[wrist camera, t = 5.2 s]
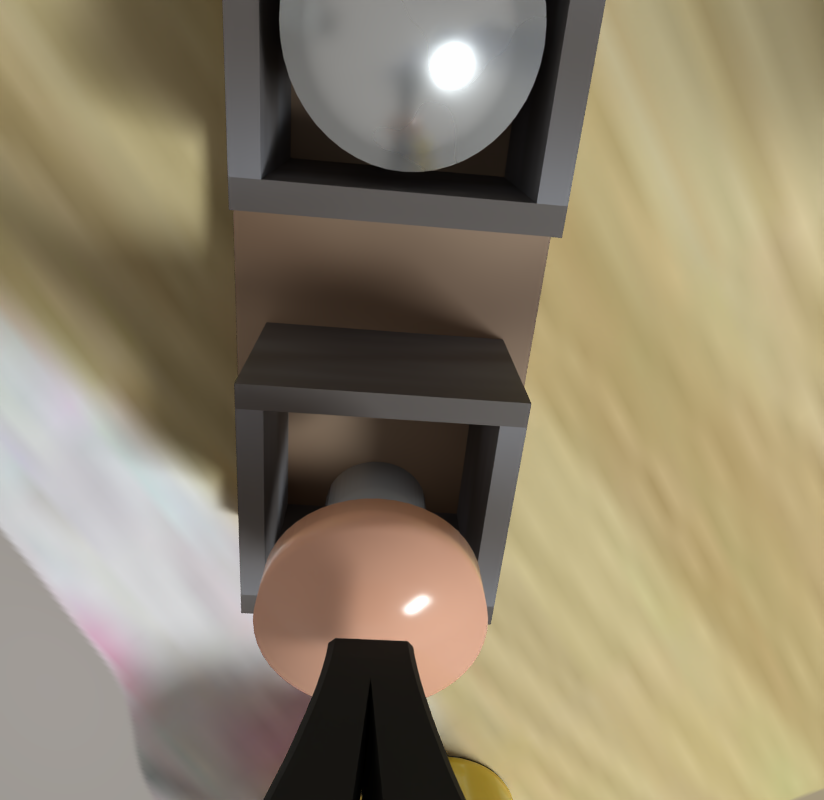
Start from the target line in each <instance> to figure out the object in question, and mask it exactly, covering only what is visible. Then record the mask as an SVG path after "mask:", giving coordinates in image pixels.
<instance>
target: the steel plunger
mask: <svg viewBox="0 0 824 800" xmlns="http://www.w3.org/2000/svg"><path fill="white" fill-rule="evenodd" d="M279 25H280V40H281V46H282V51H283V57H284V61H285V64H286V68H287V71H288V75H289V78H290V80H291V82H292V85H293V87H294V89H295V92H296V94H297V96H298V98H299V99H300V101H301V103H302V105H303V106H304V108H305V110H306V111H307V113H308V114H309V115H310V117H311V118H312V120H313V121H314V122H315V124H316V125H317V126H318V127H319V128H320V129H321V130H322V131H323V132H324V133H325V134H326V135H327V137H328V138H330V139H331V140H332V141H333V142H334V143H336V144H337V145H338V146H339V147H341V148H342V149H343V150H345V151H346V152H348V153H350V154H351V155H353V156H354V157H356V158H358V159H360V160H363V161H365V162H367V163H369V164H371V165H375V166H378V167H381V168H385V169H389V170H395V171H402V172H423V171H431V170H437V169H441V168H445V167H449V166H452V165H454V164H457V163H459V162H461V161H464V160H466V159H468V158H470V157H471V156H473V155H475V154H476V153H478V152H480V151H481V150H483V149H484V148H485V147H487V146H488V145H489V144H490V143H492V142H493V141H494V140H495V139H496V138H497V137H498V136H499V135H500V134H501V133H502V132H503V131H504V130H505V129H506V128H507V127H508V126H509V124H510V123H511V122H512V121H513V119H514V118H515V117H516V116H517V114H518V113H519V111H520V109H521V108H522V106H523V105H524V103H525V101H526V100H527V98H528V95H529V93H530V91H531V89H532V87H533V85H534V83H535V80H536V77H537V74H538V71H539V68H540V65H541V60H542V55H543V50H544V46H545V36H546V1H545V0H280V11H279Z"/></svg>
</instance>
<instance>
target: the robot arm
mask: <svg viewBox="0 0 824 800" xmlns="http://www.w3.org/2000/svg"><path fill="white" fill-rule="evenodd" d="M361 791H362V800H466V798H465V796H464V794H463V792H462V790H461V787H460V785H459V783H458V781H457V778H456V776H455V774H454V771H453V769H452V767H451V764H450V761H449V759H448V756H447V754H446V751H445V749H444V746H443V744H442V741H441V739H440V736H439V734H438V731H437V728H436V726H435V723H434V720H433V717H432V714H431V712H430V708H429V705H428V702H427V699H426V696H425V693H424V690H423V686H422V683H421V680H420V676H419V672H418V668H417V664H416V659H415V654H414V648H413V646H412V645H411V644H410V643H409V642H408V641H394V640H371V639H348V638H335V639H333V640H332V641H330V642H329V643H328V647H327V652H326V656H325V660H324V663H323V667H322V670H321V673H320V676H319V679H318V682H317V685H316V688H315V690H314V693H313V695H312V698H311V701H310V703H309V706H308V708H307V711H306V713H305V715H304V717H303V720H302V722H301V724H300V726H299V729H298V731H297V733H296V735H295V738H294V740H293V742H292V744H291V746H290V749H289V751H288V753H287V755H286V757H285V759H284V761H283V763H282V765H281V767H280V769H279V771H278V773H277V775H276V777H275V778H274V780H273V782H272V784H271V786H270V788H269V790H268V792H267V794H266V796H265V798H264V800H360V795H361Z"/></svg>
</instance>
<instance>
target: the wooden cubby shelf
mask: <svg viewBox="0 0 824 800" xmlns="http://www.w3.org/2000/svg"><path fill="white" fill-rule="evenodd" d="M545 1H546V36H545V46H544V50H543V55H542V60H541V65H540V68H539V71H538V74H537V77H536V80H535V83H534V85H533V87H532V89H531V91H530V93H529V95H528V98H527V100H526V101H525V103H524V105H523V106H522V108H521V109H520V111H519V113H518V114H517V116H516V117H515V118H514V119H513V121H512V122H511V123H510V124H509V126H508V127H507V128H506V129H505V130H504V131H503V132H502V133H501V134H500V135H499V136H498V137H497V138H496V139H495V140H494V141H493V142H492V143H490V144H489V145H488V146H487V147H485V148H484V149H483V150H481V151H480V152H478V153H476V154H475V155H473V156H471V157H470V158H468V159H466V160H464V161H461V162H459V163H457V164H454V165H452V166H449V167H445V168H441V169H437V170H431V171H423V172H402V171H395V170H389V169H385V168H381V167H378V166H375V165H371V164H369V163H367V162H365V161H363V160H360V159H358V158H356V157H354V156H353V155H351V154H350V153H348V152H346V151H345V150H343V149H342V148H341V147H339V146H338V145H337V144H336V143H334V142H333V141H332V140H331V139H330V138H328V137H327V135H326V134H325V133H324V132H323V131H322V130H321V129H320V128H319V127H318V126H317V125H316V124H315V122H314V121H313V120H312V118H311V117H310V115H309V114H308V113H307V111H306V110H305V108H304V106H303V105H302V103H301V101H300V99H299V98H298V96H297V94H296V92H295V89H294V87H293V85H292V82H291V80H290V78H289V75H288V71H287V68H286V64H285V61H284V57H283V51H282V46H281V40H280V25H279V11H280V0H222V2H223V35H224V67H225V99H226V131H227V164H228V196H229V210H233V221H234V256H235V291H236V327H237V362H238V377H237V379H236V381H235V383H234V389H235V422H236V454H237V486H238V518H239V551H240V583H241V613H253V614H254V607H255V603H256V598H257V595H258V591H259V587H260V583H261V579H262V576H263V572H264V568H265V564H266V561H267V559H268V556H269V554H270V552H271V550H272V548H273V547H274V545H275V544H276V542H277V541H278V539H279V538H280V537H281V536H282V535H283V534H284V533H285V531H286V530H288V529H289V528H290V527H291V526H292V525H293V524H295V523H296V522H297V521H299V520H300V519H302V518H303V517H305V516H306V515H308V514H310V513H312V512H314V511H316V510H318V509H320V508H323V507H325V505H326V499H327V494H328V491H329V488H330V486H331V484H332V483H333V481H334V480H335V479H336V478H337V477H338V476H339V475H340V474H341V473H342V472H344V471H345V470H347V469H348V468H350V467H352V466H355V465H358V464H361V463H366V462H385V463H390V464H393V465H396V466H399V467H401V468H403V469H405V470H406V471H407V472H409V473H410V474H411V475H412V476H414V477H415V479H416V480H417V481H418V482H419V484H420V486H421V488H422V490H423V493H424V496H425V505H426V510H428V511H430V512H432V513H434V514H436V515H437V516H439V517H441V518H442V519H444V520H445V521H447V522H448V523H449V524H450V525H452V526H453V527H454V528H455V529H456V530H457V531H458V532H459V533H460V534H461V535H462V536H463V537H464V538H465V540H466V541H467V542H468V544H469V545H470V547H471V549H472V550H473V552H474V554H475V557H476V559H477V561H478V565H479V569H480V573H481V578H482V583H483V589H484V594H485V600H486V605H487V614H488V624H491V620H492V614H493V609H494V603H495V598H496V592H497V587H498V582H499V576H500V571H501V565H502V560H503V554H504V549H505V544H506V538H507V533H508V527H509V522H510V516H511V511H512V506H513V500H514V495H515V489H516V484H517V478H518V473H519V468H520V462H521V457H522V451H523V446H524V440H525V435H526V430H527V424H528V419H529V413H530V408H531V402H530V400H529V397H528V395H527V393H526V390H525V388H524V385H525V379H526V373H527V368H528V362H529V356H530V351H531V345H532V339H533V334H534V328H535V322H536V317H537V311H538V305H539V300H540V294H541V289H542V283H543V277H544V272H545V266H546V260H547V255H548V249H549V243H550V238H551V237H558V238H562V234H563V229H564V223H565V218H566V213H567V207H568V202H569V196H570V191H571V186H572V180H573V175H574V169H575V164H576V158H577V153H578V148H579V142H580V137H581V131H582V126H583V120H584V115H585V110H586V104H587V99H588V93H589V88H590V82H591V77H592V72H593V66H594V61H595V55H596V50H597V44H598V39H599V34H600V28H601V23H602V17H603V12H604V6H605V1H606V0H545Z"/></svg>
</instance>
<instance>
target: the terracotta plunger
mask: <svg viewBox="0 0 824 800" xmlns="http://www.w3.org/2000/svg"><path fill="white" fill-rule="evenodd" d="M253 625H254V633H255V637H256V640H257V644H258V646H259V648H260V650H261V652H262V655H263V656H264V658H265V659H266V661H267V662H268V664H269V665H270V666H271V667H272V668H273V669H274V671H275V672H276V673H277V674H278V675H279V676H281V677H282V678H283V679H284V680H285V681H286V682H288V683H289V684H291V685H292V686H294V687H295V688H297V689H298V690H300V691H302V692H304V693H306V694H308V695H310V696H312V695H313V693H314V690H315V688H316V685H317V682H318V679H319V676H320V673H321V670H322V667H323V663H324V660H325V656H326V652H327V647H328V643H329V642H330V641H332V640H333V639H335V638H348V639H371V640H394V641H408V642H409V643H410V644H411V645H412V646H413V648H414V654H415V659H416V664H417V668H418V672H419V676H420V680H421V683H422V686H423V690H424V693H425V696H426V697H429V696H431V695H433V694H435V693H437V692H439V691H441V690H443V689H445V688H446V687H447V686H449V685H450V684H452V683H453V682H455V681H456V680H457V679H458V678H459V677H460V676H462V675H463V674H464V673H465V672H466V671H467V669H468V668H469V667H470V666H471V665H472V664H473V662H474V661H475V659H476V658H477V656H478V654H479V653H480V650H481V648H482V646H483V644H484V641H485V637H486V633H487V626H488V614H487V605H486V600H485V594H484V589H483V583H482V578H481V573H480V569H479V565H478V561H477V559H476V557H475V554H474V552H473V550H472V549H471V547H470V545H469V544H468V542H467V541H466V540H465V538H464V537H463V536H462V535H461V534H460V533H459V532H458V531H457V530H456V529H455V528H454V527H453V526H452V525H450V524H449V523H448V522H447V521H445V520H444V519H442V518H441V517H439V516H437V515H436V514H434V513H432V512H430V511H428V510H426V505H425V496H424V493H423V490H422V488H421V486H420V484H419V482H418V481H417V480H416V479H415V477H414V476H412V475H411V474H410V473H409V472H407V471H406V470H405V469H403V468H401V467H399V466H396V465H393V464H390V463H385V462H366V463H361V464H358V465H355V466H352V467H350V468H348V469H347V470H345V471H344V472H342V473H341V474H340V475H339V476H338V477H337V478H336V479H335V480H334V481H333V483H332V484H331V486H330V488H329V491H328V494H327V499H326V505H325V507H323V508H320V509H318V510H316V511H314V512H312V513H310V514H308V515H306V516H305V517H303V518H302V519H300V520H299V521H297V522H296V523H295V524H293V525H292V526H291V527H290V528H289V529H288V530H286V531H285V533H284V534H283V535H282V536H281V537H280V538H279V539H278V541H277V542H276V544H275V545H274V547H273V548H272V550H271V552H270V554H269V556H268V559H267V561H266V564H265V568H264V572H263V576H262V579H261V583H260V587H259V591H258V595H257V598H256V603H255V607H254V614H253Z"/></svg>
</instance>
